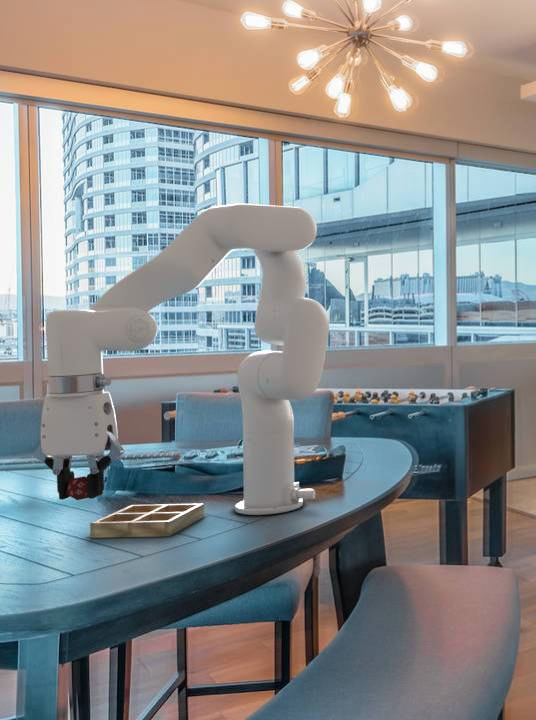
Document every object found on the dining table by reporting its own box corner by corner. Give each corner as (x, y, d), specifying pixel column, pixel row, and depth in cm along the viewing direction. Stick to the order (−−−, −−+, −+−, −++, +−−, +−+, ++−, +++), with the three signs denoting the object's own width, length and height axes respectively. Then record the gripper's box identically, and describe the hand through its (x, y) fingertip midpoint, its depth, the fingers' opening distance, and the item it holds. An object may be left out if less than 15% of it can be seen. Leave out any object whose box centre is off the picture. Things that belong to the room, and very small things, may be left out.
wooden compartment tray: (204, 516, 155) (203, 503, 155) (169, 536, 141) (169, 521, 141) (131, 518, 154) (131, 504, 154) (90, 537, 141) (89, 523, 141)
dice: (86, 496, 134) (85, 472, 134) (100, 499, 132) (99, 474, 132) (61, 501, 131) (60, 477, 131) (76, 504, 128) (75, 479, 128)
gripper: (140, 381, 135) (145, 489, 135) (38, 384, 134) (43, 493, 135) (116, 386, 127) (120, 501, 128) (7, 389, 127) (13, 504, 127)
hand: (81, 495), depth 131 cm, fingers closed on dice, 3 cm apart
